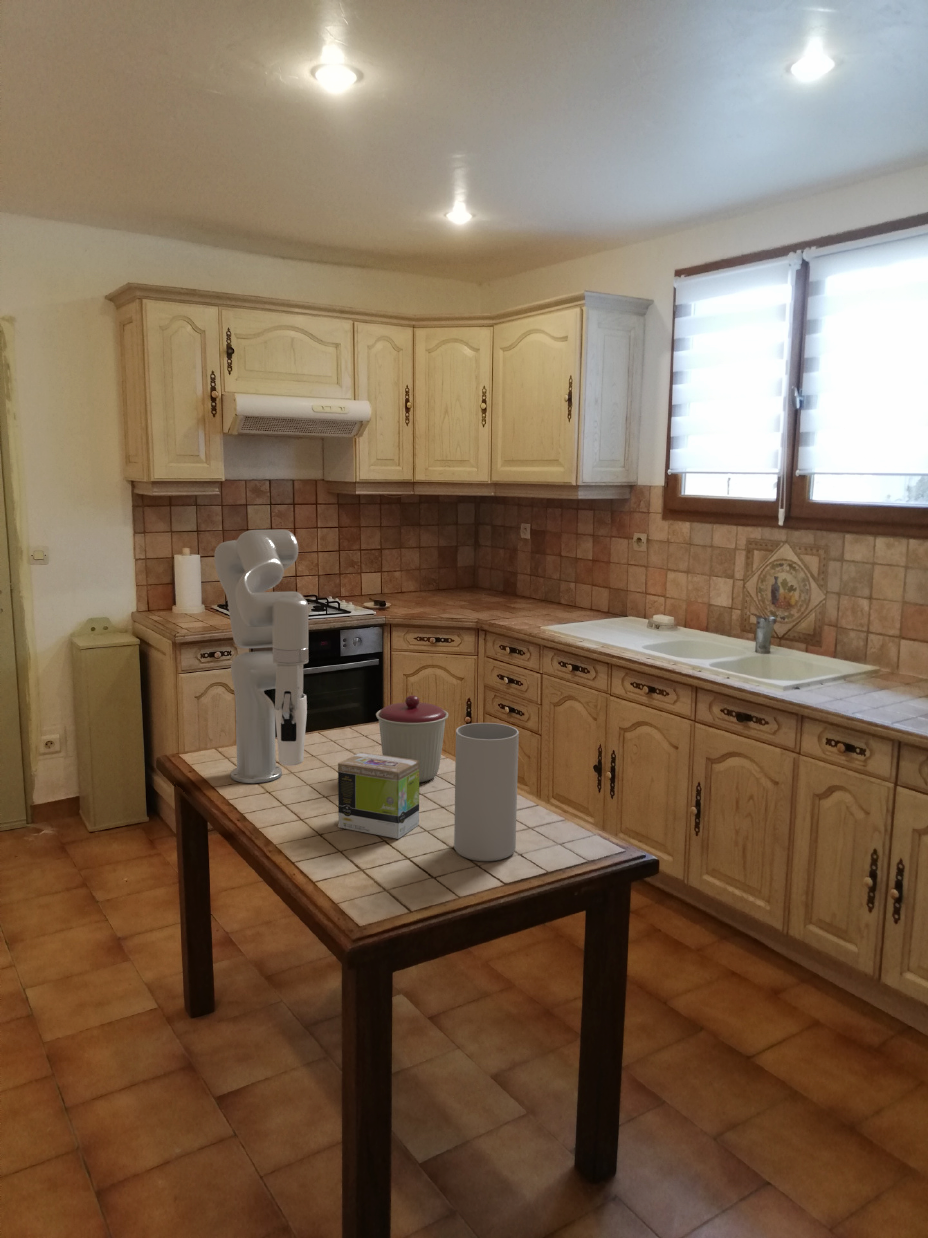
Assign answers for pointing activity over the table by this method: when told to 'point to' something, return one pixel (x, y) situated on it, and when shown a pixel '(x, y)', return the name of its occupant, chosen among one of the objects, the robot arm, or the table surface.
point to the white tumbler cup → (294, 750)
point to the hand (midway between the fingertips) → (290, 735)
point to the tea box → (378, 794)
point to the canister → (413, 733)
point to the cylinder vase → (486, 791)
